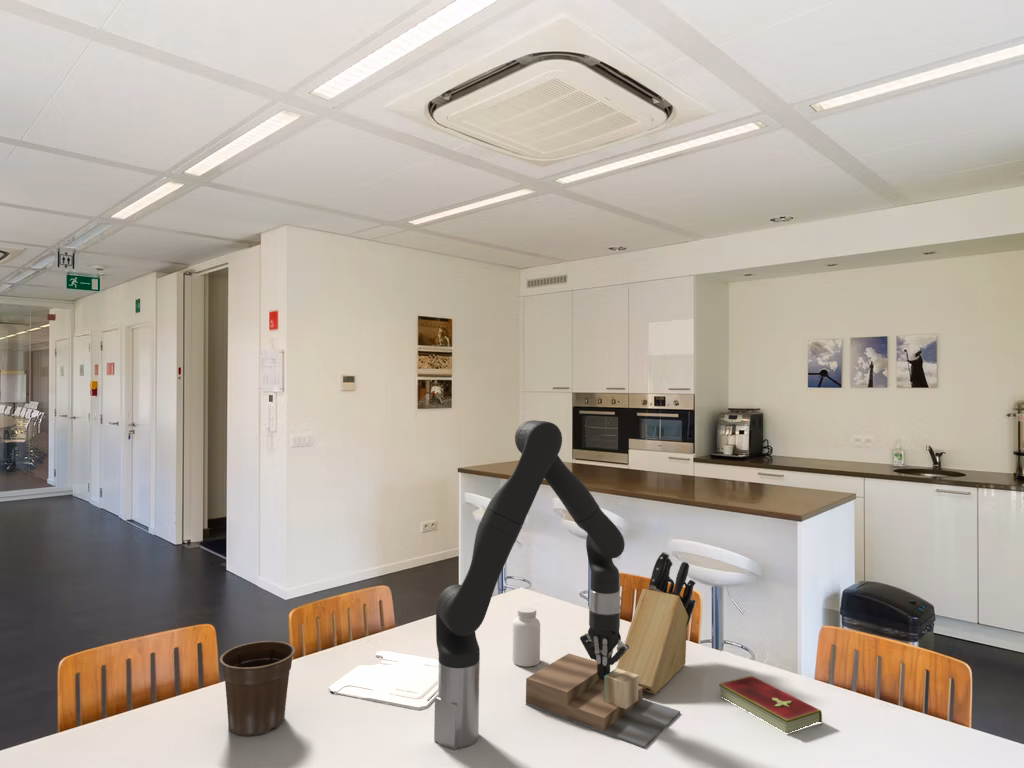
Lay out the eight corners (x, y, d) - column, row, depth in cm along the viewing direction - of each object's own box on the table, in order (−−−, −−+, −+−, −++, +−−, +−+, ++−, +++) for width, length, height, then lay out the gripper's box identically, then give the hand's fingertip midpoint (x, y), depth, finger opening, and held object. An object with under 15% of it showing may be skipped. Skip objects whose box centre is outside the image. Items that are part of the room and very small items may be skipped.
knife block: (697, 655, 194) (699, 551, 195) (652, 700, 165) (654, 577, 166) (661, 646, 201) (663, 545, 201) (612, 688, 172) (613, 570, 172)
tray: (325, 694, 167) (325, 688, 167) (381, 653, 193) (381, 648, 193) (423, 713, 158) (423, 706, 158) (468, 667, 184) (468, 662, 184)
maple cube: (603, 700, 157) (625, 709, 153) (604, 675, 157) (626, 683, 153) (616, 692, 161) (638, 700, 158) (616, 668, 161) (638, 675, 158)
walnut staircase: (644, 748, 142) (644, 718, 143) (525, 704, 162) (526, 678, 162) (680, 713, 158) (680, 686, 159) (568, 677, 178) (568, 653, 178)
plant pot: (220, 712, 156) (222, 644, 156) (292, 701, 161) (293, 636, 161) (215, 747, 140) (217, 672, 141) (294, 734, 146) (296, 662, 146)
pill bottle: (540, 657, 191) (541, 605, 191) (538, 668, 183) (539, 615, 183) (513, 655, 192) (514, 604, 192) (510, 666, 184) (511, 613, 184)
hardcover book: (752, 690, 173) (752, 674, 173) (821, 726, 154) (822, 708, 154) (718, 699, 167) (718, 682, 167) (786, 738, 149) (787, 719, 149)
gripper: (573, 606, 161) (572, 676, 161) (621, 617, 154) (620, 691, 153) (588, 598, 167) (587, 666, 167) (635, 609, 160) (634, 680, 159)
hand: (603, 678), depth 160 cm, fingers closed
